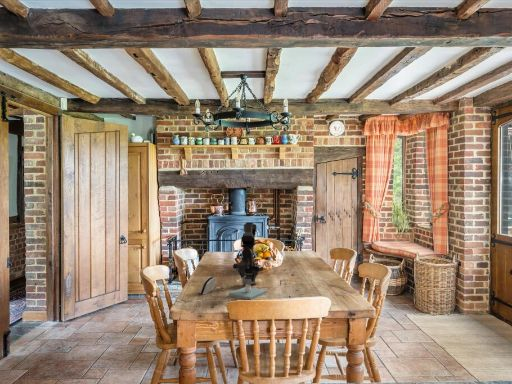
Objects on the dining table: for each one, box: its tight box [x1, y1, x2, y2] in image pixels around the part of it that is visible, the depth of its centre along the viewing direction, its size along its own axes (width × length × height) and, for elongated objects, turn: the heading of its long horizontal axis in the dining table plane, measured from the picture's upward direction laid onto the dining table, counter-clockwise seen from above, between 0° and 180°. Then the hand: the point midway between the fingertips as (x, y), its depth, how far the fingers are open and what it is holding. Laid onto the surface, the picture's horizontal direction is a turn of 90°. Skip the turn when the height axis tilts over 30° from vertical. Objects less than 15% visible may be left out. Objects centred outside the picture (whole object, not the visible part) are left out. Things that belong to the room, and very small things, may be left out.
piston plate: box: [228, 284, 268, 300], centre depth 248 cm, size 18×16×6 cm
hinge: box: [196, 276, 217, 296], centre depth 256 cm, size 17×5×10 cm, turn 165°
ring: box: [241, 276, 254, 285], centre depth 247 cm, size 7×7×3 cm
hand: (247, 281), depth 248 cm, fingers closed on ring, 7 cm apart
